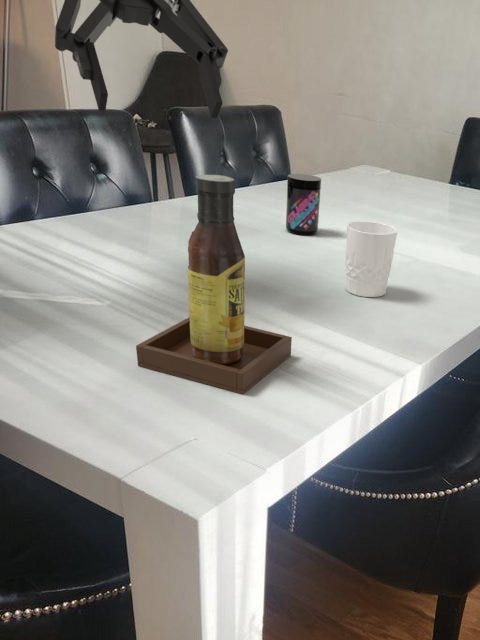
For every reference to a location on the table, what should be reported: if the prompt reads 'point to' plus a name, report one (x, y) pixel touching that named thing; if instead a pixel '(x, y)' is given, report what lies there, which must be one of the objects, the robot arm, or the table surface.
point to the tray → (177, 359)
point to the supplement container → (303, 204)
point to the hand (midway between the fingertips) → (162, 107)
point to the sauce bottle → (216, 275)
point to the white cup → (369, 257)
